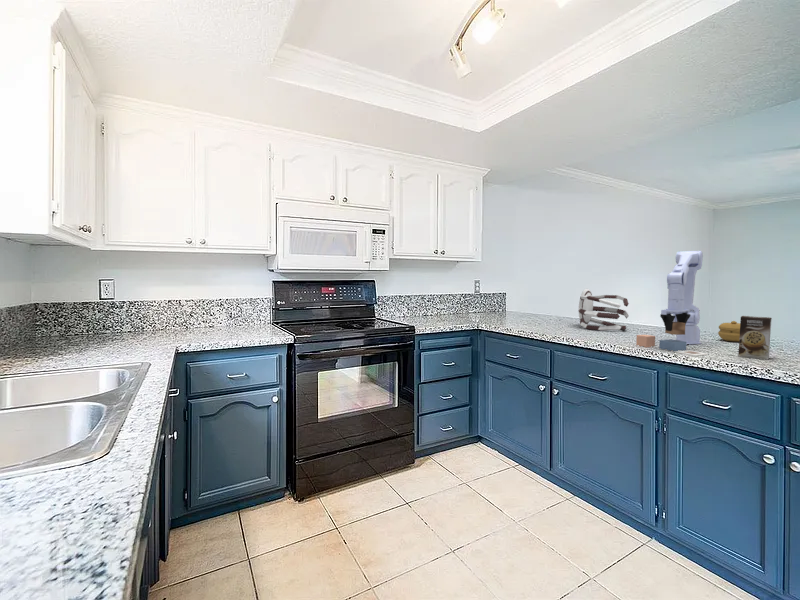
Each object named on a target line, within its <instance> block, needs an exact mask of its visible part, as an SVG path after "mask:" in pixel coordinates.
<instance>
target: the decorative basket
mask: <svg viewBox="0 0 800 600" xmlns="http://www.w3.org/2000/svg"><path fill="white" fill-rule="evenodd" d="M608 299H615V300H617V299H618V300H621V301H622V303H623V305H624V306H625V307H628V306H629V304H630V303H629V301H628V298H626V297H624V296H621V295H617V294H616V295H613V294H610V295H609V294H603V295H593V293H592V291H591V290H590V289H589V288H584V289H583V291H582V292H581V294H580V298H579V301H578V311H577V312H578V317H579V326H581V327H582V328H584V329H586V330H591V331H598V330H599V332H604V331H606V332H607V331H620V330H623V331H625V330H626V329H627V326H626V325H622V324H618V323H614V322H610V321H609V322H608V321H606V320H603V319H613V320H618V319H619V318H620V315H621V316H624V317H625V319H628V318H629V313H628V312H627V311H626V310H624V309H620V307H621V304H620V303H618V302H616V301H615V302H614V301H611V300H608ZM594 302H597V303H602V304H603V305H608V306H611V307H608V306H599V305H598V306H595V305H594ZM593 317H594V318H593ZM598 318H599V319H598ZM589 323H594V324H598V325H602V326H598V325H589Z"/></svg>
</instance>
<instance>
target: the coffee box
mask: <svg viewBox="0 0 800 600" xmlns="http://www.w3.org/2000/svg"><path fill="white" fill-rule="evenodd" d="M772 320H773V319H772V317H769V316H767V317H764V316H749V315H741V316H740V337H739V342H738V353H737V355H738V357H742V358H749V359H758V360H769V359H770V348H771V347H770V346H771V345H770V344H771V333H772V332H771V331H772V330H771V328H772Z"/></svg>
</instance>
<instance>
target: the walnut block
mask: <svg viewBox="0 0 800 600" xmlns="http://www.w3.org/2000/svg"><path fill="white" fill-rule="evenodd" d="M664 331H665V332H664V333H665V334H668V335H673V336H674V335H685V323H682V322H673V326H672V331H666V328H665V330H664Z"/></svg>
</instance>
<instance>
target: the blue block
mask: <svg viewBox="0 0 800 600" xmlns="http://www.w3.org/2000/svg"><path fill="white" fill-rule="evenodd" d="M660 348H661V349H660ZM659 349H660V350H665V349H667V350H666V351H671V350H673V351H672V352H677V351H678V350H682V351H687V344H686V341H679V340H676V339H671V338H669V339H659Z"/></svg>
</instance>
